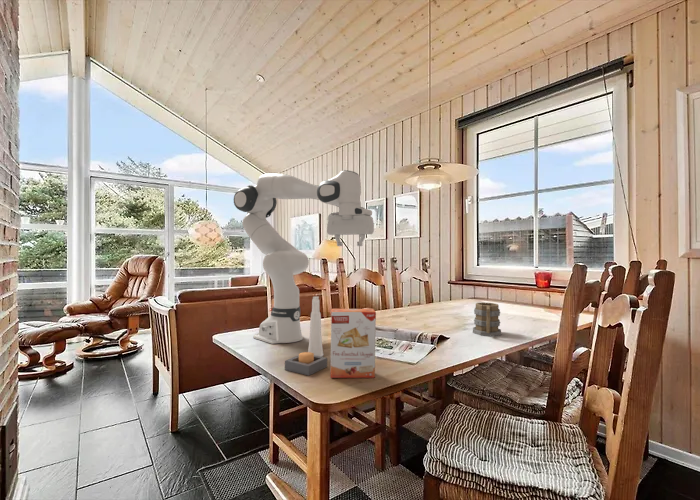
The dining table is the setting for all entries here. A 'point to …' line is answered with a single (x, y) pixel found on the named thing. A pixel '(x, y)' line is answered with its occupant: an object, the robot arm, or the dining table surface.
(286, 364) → the gray square tray
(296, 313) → the robot arm
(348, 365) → the cracker box
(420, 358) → the dining table surface
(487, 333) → the tankard
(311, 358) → the button
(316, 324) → the cosmetic bottle
